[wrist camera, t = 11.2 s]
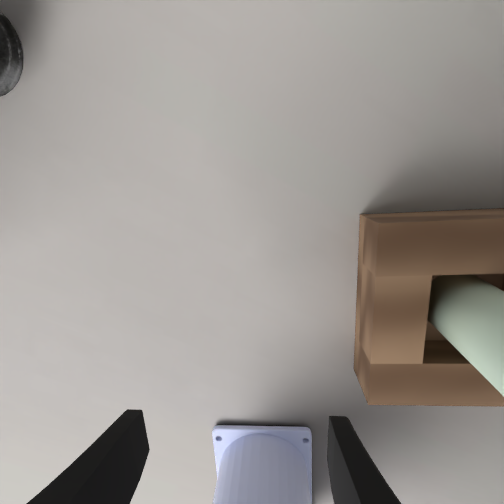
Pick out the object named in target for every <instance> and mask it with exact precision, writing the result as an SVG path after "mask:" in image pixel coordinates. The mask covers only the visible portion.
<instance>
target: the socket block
mask: <svg viewBox="0 0 504 504" xmlns="http://www.w3.org/2000/svg"><path fill="white" fill-rule="evenodd" d="M464 274H473V275H475V276H477V277H478V278H480V279H482V280H484V281H486V282H488V283H490V284H491V285H493V286H495V287H497V288H499V289H501V290H502V291H504V208H496V209H474V210H451V211H428V212H406V213H383V214H360V227H359V252H358V277H357V302H356V327H355V351H354V371H355V373H356V376H357V378H358V381H359V383H360V385H361V388H362V390H363V393H364V395H365V398H366V400H367V403H368V405H429V406H504V396H503V395H502V394H501V393H500V392H499V391H498V390H497V389H496V388H495V387H494V386H493V385H492V384H491V383H490V382H489V381H488V380H487V379H486V378H485V377H484V376H483V375H482V374H481V373H480V372H479V371H478V370H477V369H476V368H475V367H474V366H473V365H472V364H471V363H470V362H469V361H468V360H467V359H466V358H465V357H464V356H463V355H462V354H461V353H460V352H459V351H458V350H457V349H456V348H455V347H454V346H453V345H452V344H451V343H450V342H449V341H448V340H447V339H446V338H445V337H444V336H443V335H442V334H441V333H440V332H439V331H438V330H437V329H436V328H435V327H434V326H433V325H432V324H431V323H430V322H429V321H428V320H427V318H428V309H429V300H430V291H431V282H432V281H434V280H435V279H436V278H438V277H440V276H442V275H464Z"/></svg>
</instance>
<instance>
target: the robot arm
mask: <svg viewBox="0 0 504 504" xmlns="http://www.w3.org/2000/svg"><path fill="white" fill-rule="evenodd" d="M212 435H213V444H214V452H215V461H216V470H217V483H216V488H215V494H214V499H213V504H312V434H311V430H310V429H309V428H308V427H286V426H234V425H217V426H215V427H214V428H213V432H212ZM218 436H220V437H218ZM303 438H307V439H303ZM149 450H150V449H149V444H148V439H147V433H146V428H145V423H144V417H143V412H142V410H126V411H125V412H124V413H123V414H122V415H121V416H120V417H119V418H118V419H117V420H116V421H115V422H114V423H113V424H112V425H111V426H110V427H109V428H108V429H107V430H106V431H105V432H104V433H103V434H102V435H101V436H100V437H99V438H98V439H97V440H96V441H95V442H94V443H93V444H92V445H91V446H90V447H89V448H88V449H87V450H86V451H85V452H83V453H82V454H81V455H80V456H79V457H78V458H77V459H76V460H75V461H74V462H73V463H72V464H71V465H70V466H69V467H68V468H67V469H65V470H64V471H63V472H62V473H61V474H60V475H59V476H58V477H57V478H56V479H54V480H53V481H52V482H51V483H50V484H49V485H48V486H47V487H46V488H44V489H43V490H42V491H41V492H40V493H39V494H37V495H36V496H35V497H34V498H33V499H32V500H30V501H29V502H28V503H27V504H130V501H131V499H132V497H133V495H134V492H135V490H136V488H137V485H138V483H139V481H140V478H141V475H142V472H143V469H144V466H145V462H146V459H147V456H148V453H149ZM327 461H328V468H329V475H330V482H331V489H332V494H333V499H334V503H335V504H401V502H400V501H399V500H398V498H397V497H396V495H395V494H394V493H393V491H392V490H391V488H390V487H389V485H388V484H387V482H386V481H385V479H384V478H383V476H382V475H381V473H380V472H379V470H378V469H377V467H376V465H375V464H374V462H373V461H372V459H371V458H370V456H369V454H368V453H367V451H366V449H365V448H364V446H363V444H362V443H361V441H360V439H359V437H358V436H357V434H356V432H355V430H354V428H353V426H352V424H351V422H350V420H349V419H348V418H347V417H344V416H329V430H328V449H327Z"/></svg>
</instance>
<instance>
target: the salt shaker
mask: <svg viewBox="0 0 504 504" xmlns="http://www.w3.org/2000/svg"><path fill="white" fill-rule="evenodd" d="M22 63H23V55H22V49H21V43H20V41H19V38H18V36H17V33H16V31H15V29H14V28H13V26H12V25H11V23H10V21H9V20H8V19H7V18H6V17H5V16H4V15H3V14H2V13H1V12H0V96H3V95H6V94H7V93H8V92H9V91H11V90H12V89H13V88H14V86H15V85H16V83H17V82H18V80H19V78H20V75H21V71H22Z"/></svg>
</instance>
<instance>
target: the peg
mask: <svg viewBox="0 0 504 504" xmlns="http://www.w3.org/2000/svg"><path fill="white" fill-rule="evenodd" d="M427 320H428V321H429V322H430V323H431V324H432V325H433V326H434V327H435V328H436V329H437V330H438V331H439V332H440V333H441V334H442V335H443V336H444V337H445V338H446V339H447V340H448V341H449V342H450V343H451V344H452V345H453V346H454V347H455V348H456V349H457V350H458V351H459V352H460V353H461V354H462V355H463V356H464V357H465V358H466V359H467V360H468V361H469V362H470V363H471V364H472V365H473V366H474V367H475V368H476V369H477V370H478V371H479V372H480V373H481V374H482V375H483V376H484V377H485V378H486V379H487V380H488V381H489V382H490V383H491V384H492V385H493V386H494V387H495V388H496V389H497V390H498V391H499V392H500V393H501V394H502V395H503V396H504V291H502V290H501V289H499V288H497V287H495V286H493V285H491V284H490V283H488V282H486V281H484V280H482V279H480V278H478V277H477V276H475V275H473V274H464V275H442V276H440V277H438V278H436V279H435V280H434V281H432V282H431V291H430V300H429V309H428V318H427Z"/></svg>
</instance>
